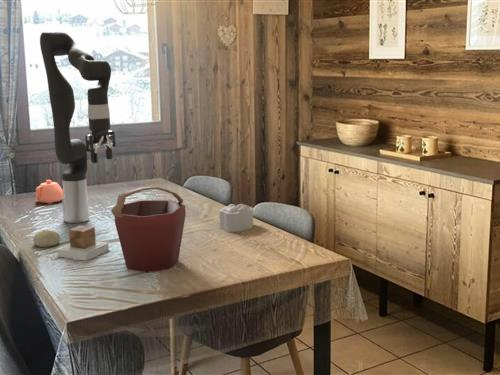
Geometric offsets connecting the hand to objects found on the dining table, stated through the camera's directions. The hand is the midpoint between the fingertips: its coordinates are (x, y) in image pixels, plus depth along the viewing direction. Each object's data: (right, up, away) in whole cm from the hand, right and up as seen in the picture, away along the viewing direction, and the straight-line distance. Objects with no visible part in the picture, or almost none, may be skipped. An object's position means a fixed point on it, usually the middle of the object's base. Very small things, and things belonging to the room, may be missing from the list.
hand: (102, 161), depth 223 cm
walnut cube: (-3, -29, -16) cm, 33 cm away
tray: (-3, -32, -15) cm, 36 cm away
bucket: (+22, -34, -26) cm, 48 cm away
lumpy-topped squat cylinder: (+50, -25, +13) cm, 57 cm away
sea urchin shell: (-19, -30, -4) cm, 36 cm away
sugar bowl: (-39, -17, +59) cm, 73 cm away
